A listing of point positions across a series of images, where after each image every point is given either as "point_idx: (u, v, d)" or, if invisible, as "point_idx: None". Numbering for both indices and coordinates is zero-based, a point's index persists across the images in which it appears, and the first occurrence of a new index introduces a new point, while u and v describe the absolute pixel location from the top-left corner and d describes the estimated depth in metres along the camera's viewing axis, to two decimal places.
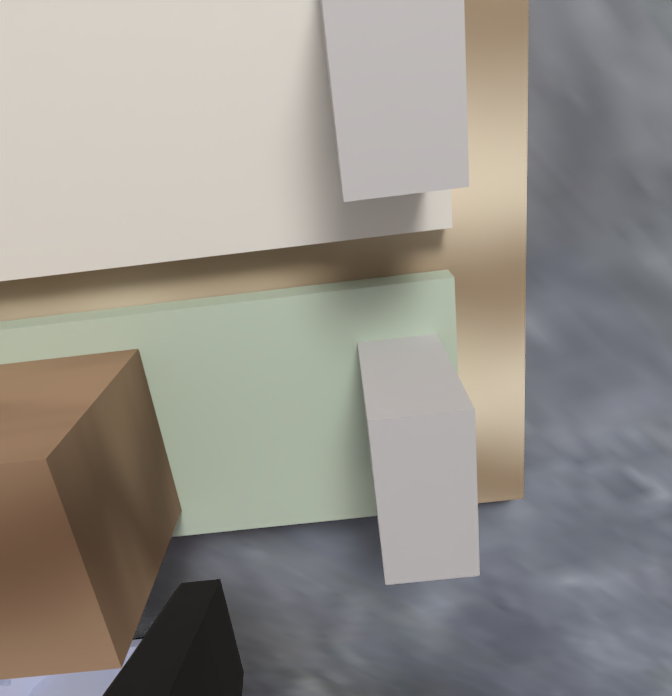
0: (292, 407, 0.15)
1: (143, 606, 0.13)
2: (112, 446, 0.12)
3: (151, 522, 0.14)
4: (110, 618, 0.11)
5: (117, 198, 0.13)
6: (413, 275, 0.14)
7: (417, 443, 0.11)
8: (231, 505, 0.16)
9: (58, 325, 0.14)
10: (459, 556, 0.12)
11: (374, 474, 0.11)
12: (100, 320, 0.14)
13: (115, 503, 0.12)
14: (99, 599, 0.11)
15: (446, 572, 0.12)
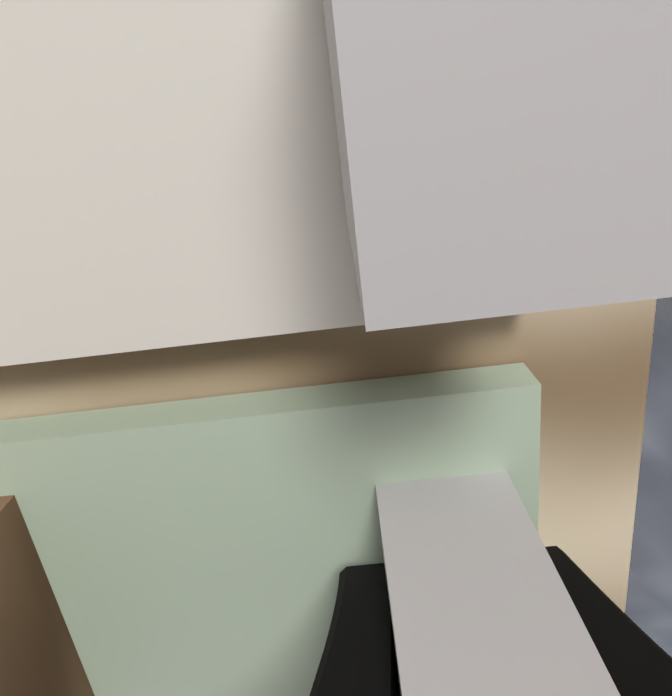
0: (269, 578, 0.09)
1: None
2: None
3: None
4: None
5: None
6: (467, 374, 0.09)
7: None
8: None
9: None
10: None
11: None
12: None
13: None
14: None
15: None
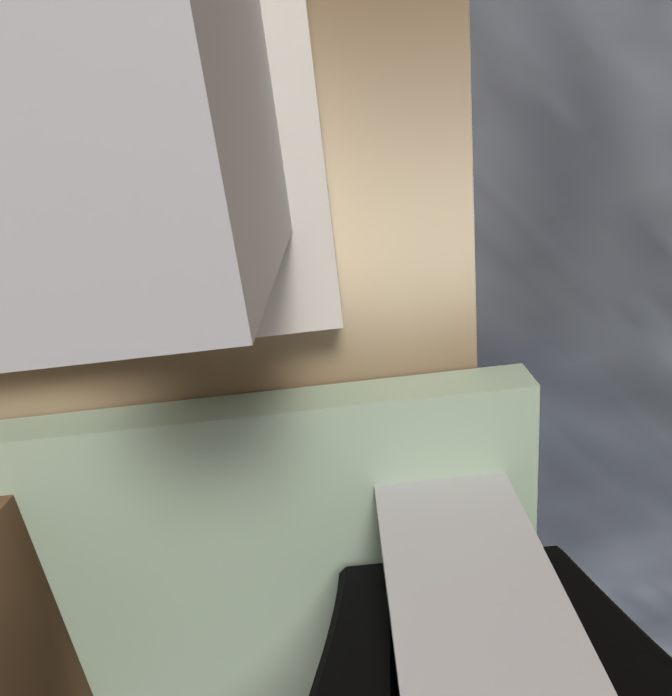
0: (268, 577, 0.09)
1: None
2: None
3: None
4: None
5: None
6: (466, 375, 0.09)
7: None
8: None
9: None
10: None
11: None
12: None
13: None
14: None
15: None
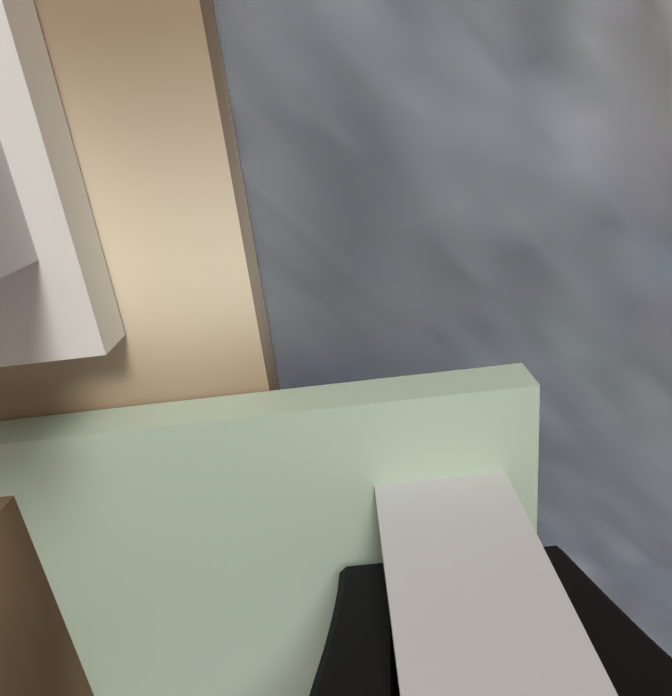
0: (268, 578, 0.09)
1: None
2: None
3: None
4: None
5: None
6: (466, 374, 0.09)
7: None
8: None
9: None
10: None
11: None
12: None
13: None
14: None
15: None
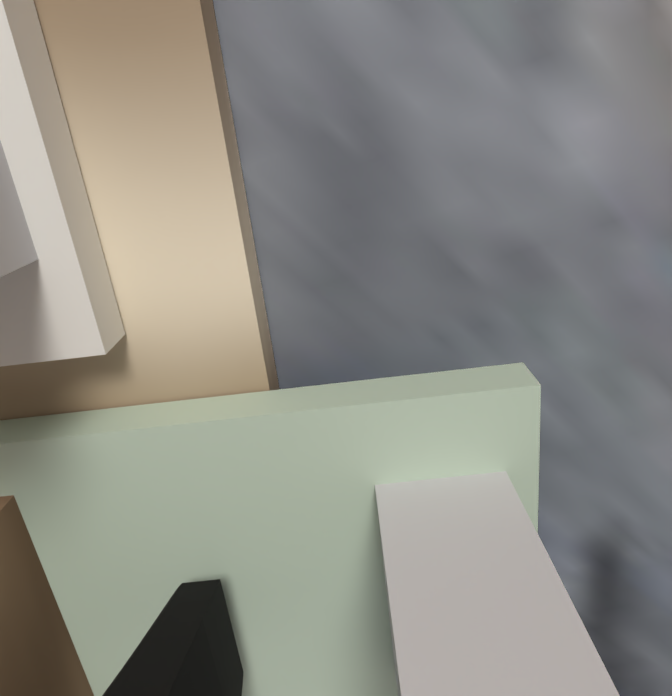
0: (268, 577, 0.09)
1: None
2: None
3: None
4: None
5: None
6: (467, 374, 0.09)
7: None
8: None
9: None
10: None
11: None
12: None
13: None
14: None
15: None
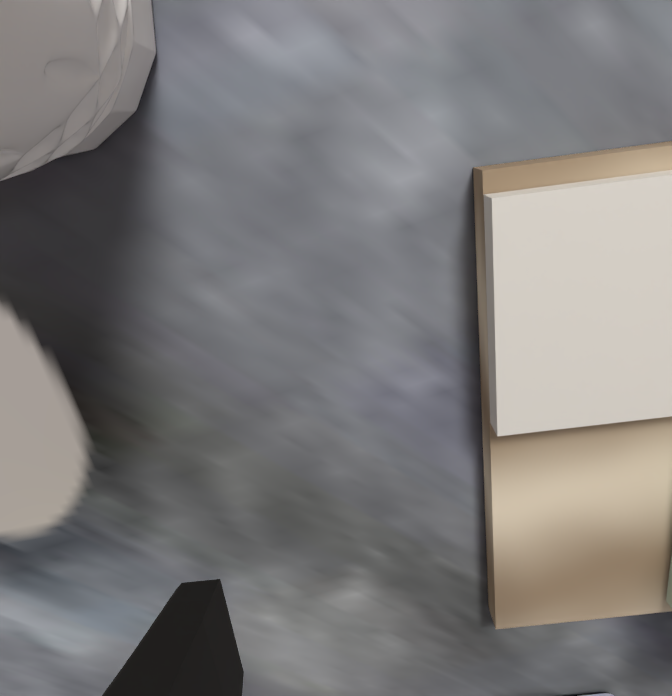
0: None
1: None
2: None
3: None
4: None
5: None
6: None
7: None
8: None
9: None
10: None
11: None
12: None
13: None
14: None
15: None
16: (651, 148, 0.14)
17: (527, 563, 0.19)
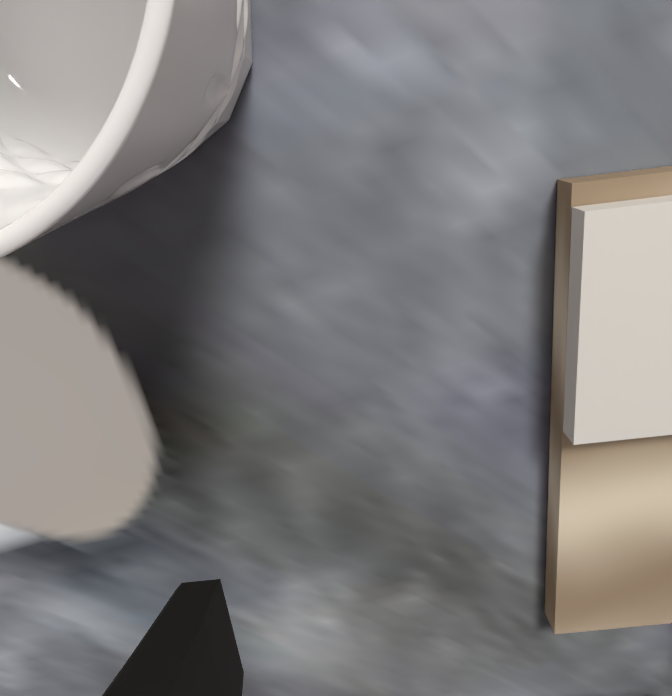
0: None
1: None
2: None
3: None
4: None
5: None
6: None
7: None
8: None
9: None
10: None
11: None
12: None
13: None
14: None
15: None
16: None
17: (590, 569, 0.19)
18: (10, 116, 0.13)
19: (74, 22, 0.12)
